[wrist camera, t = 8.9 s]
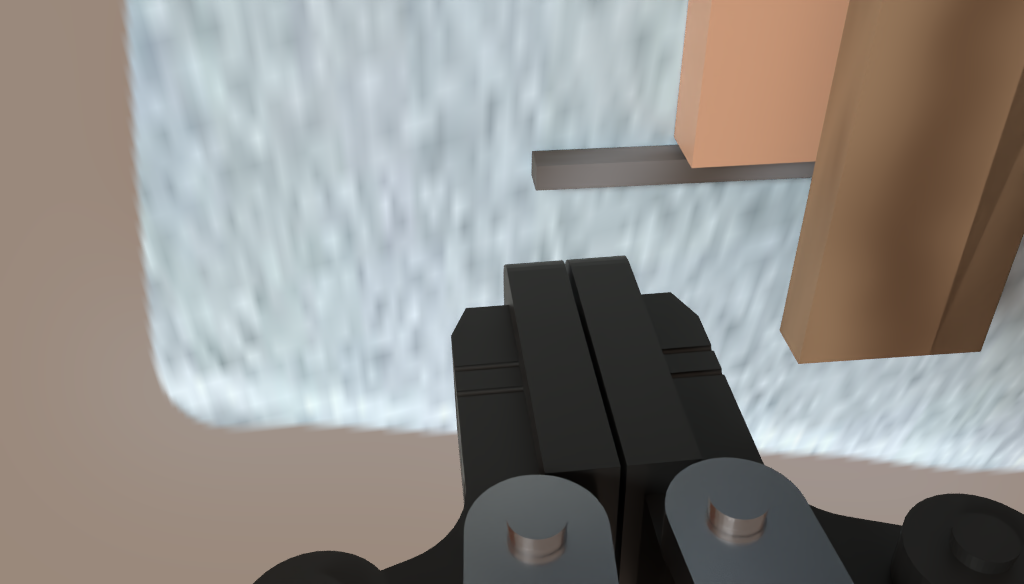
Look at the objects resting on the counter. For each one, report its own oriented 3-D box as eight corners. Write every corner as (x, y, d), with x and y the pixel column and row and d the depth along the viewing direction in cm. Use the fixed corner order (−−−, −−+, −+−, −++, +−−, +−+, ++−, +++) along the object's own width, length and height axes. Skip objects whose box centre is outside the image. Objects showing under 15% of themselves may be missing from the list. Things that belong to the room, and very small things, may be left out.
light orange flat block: (920, -60, 34) (956, -38, 32) (876, 126, 38) (905, 156, 36) (694, -53, 33) (715, -30, 31) (673, 136, 37) (691, 168, 35)
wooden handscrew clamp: (1060, -292, 30) (1206, -268, 25) (903, 256, 42) (980, 351, 36) (544, -293, 29) (583, -268, 23) (528, 277, 40) (552, 380, 35)
